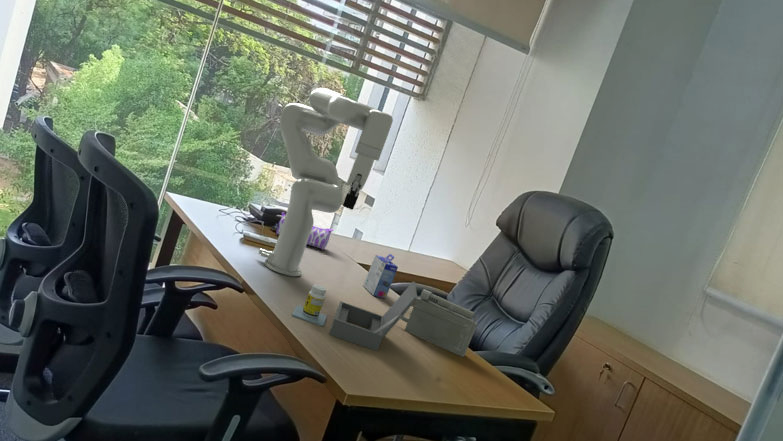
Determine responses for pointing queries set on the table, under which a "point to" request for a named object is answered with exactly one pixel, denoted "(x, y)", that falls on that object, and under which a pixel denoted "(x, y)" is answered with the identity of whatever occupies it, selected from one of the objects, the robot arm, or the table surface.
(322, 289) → the supplement bottle
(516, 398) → the table surface
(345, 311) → the case
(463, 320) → the geiger counter
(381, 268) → the ink cartridge box
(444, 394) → the table surface
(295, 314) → the pad
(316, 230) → the pencil case
